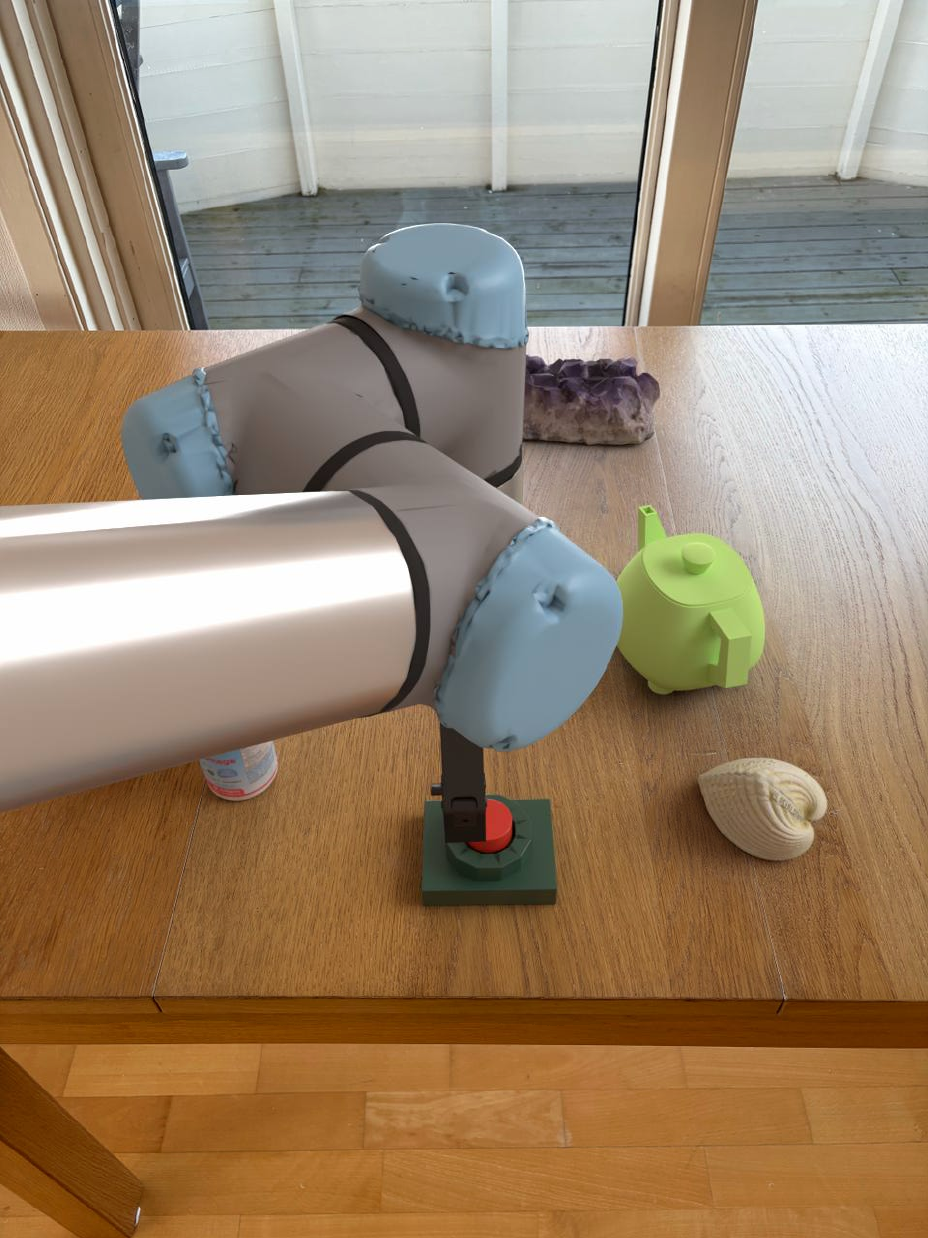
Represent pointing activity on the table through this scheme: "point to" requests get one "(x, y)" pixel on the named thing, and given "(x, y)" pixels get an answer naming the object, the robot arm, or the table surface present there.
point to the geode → (588, 401)
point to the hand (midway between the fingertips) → (462, 755)
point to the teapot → (688, 610)
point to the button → (495, 828)
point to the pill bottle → (241, 771)
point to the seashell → (764, 806)
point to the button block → (491, 860)
